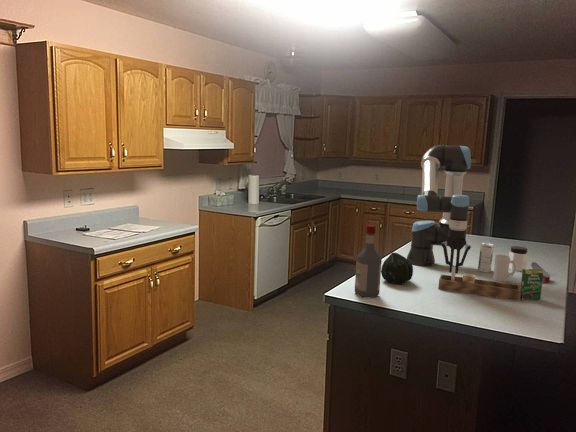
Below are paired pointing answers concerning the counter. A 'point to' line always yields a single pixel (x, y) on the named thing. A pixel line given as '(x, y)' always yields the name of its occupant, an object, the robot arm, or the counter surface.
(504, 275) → the mug
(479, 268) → the syrup box
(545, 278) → the canned food
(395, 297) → the counter surface
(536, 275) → the coffee box
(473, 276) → the birch block
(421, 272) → the counter surface
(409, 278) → the squash
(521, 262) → the jar
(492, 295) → the box
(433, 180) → the robot arm
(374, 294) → the liquor
